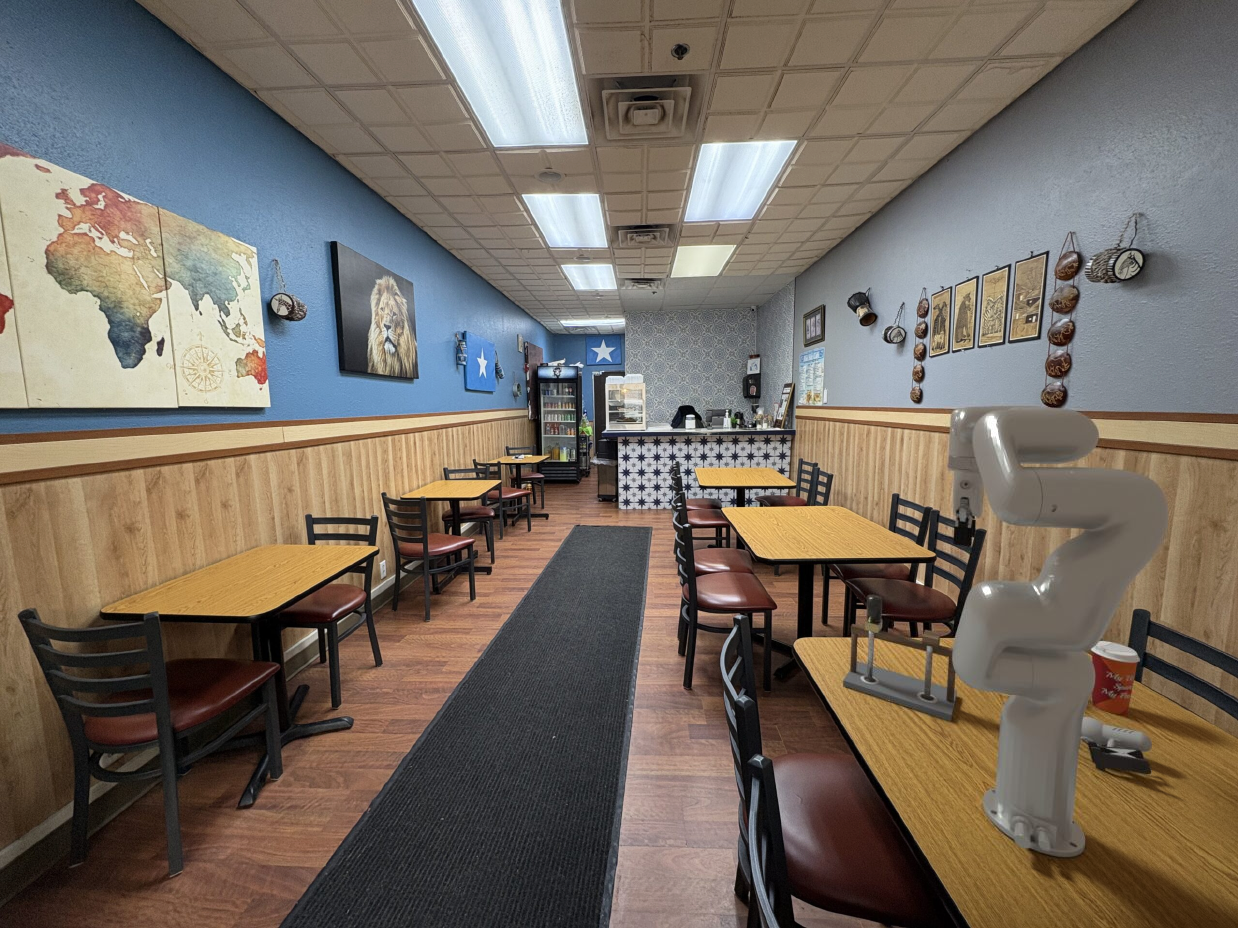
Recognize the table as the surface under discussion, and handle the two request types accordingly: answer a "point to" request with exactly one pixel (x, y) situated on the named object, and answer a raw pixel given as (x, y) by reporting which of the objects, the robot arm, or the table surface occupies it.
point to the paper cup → (1113, 676)
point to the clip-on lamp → (1116, 756)
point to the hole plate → (901, 690)
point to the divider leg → (873, 626)
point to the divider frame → (927, 644)
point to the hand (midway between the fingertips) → (964, 540)
